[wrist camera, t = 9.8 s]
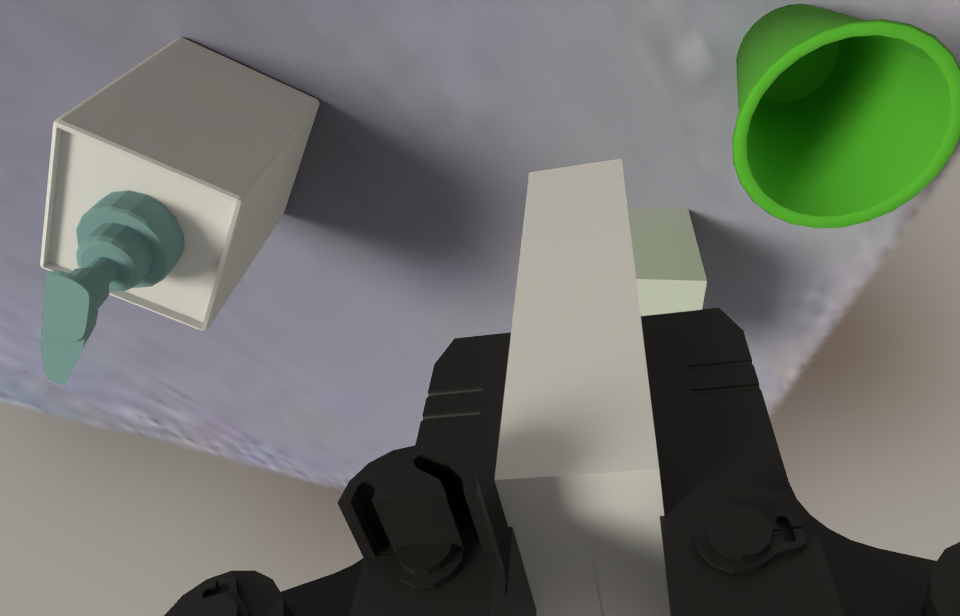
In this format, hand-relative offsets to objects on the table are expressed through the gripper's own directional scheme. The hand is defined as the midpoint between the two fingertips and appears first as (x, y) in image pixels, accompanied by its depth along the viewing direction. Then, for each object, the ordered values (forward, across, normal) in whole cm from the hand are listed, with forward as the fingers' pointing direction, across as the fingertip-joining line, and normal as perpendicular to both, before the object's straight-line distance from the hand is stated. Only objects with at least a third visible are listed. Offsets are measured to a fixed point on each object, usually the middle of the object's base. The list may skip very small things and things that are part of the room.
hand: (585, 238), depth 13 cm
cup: (+31, +10, -8) cm, 33 cm away
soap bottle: (+31, -22, -7) cm, 38 cm away
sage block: (+31, +1, -19) cm, 36 cm away
